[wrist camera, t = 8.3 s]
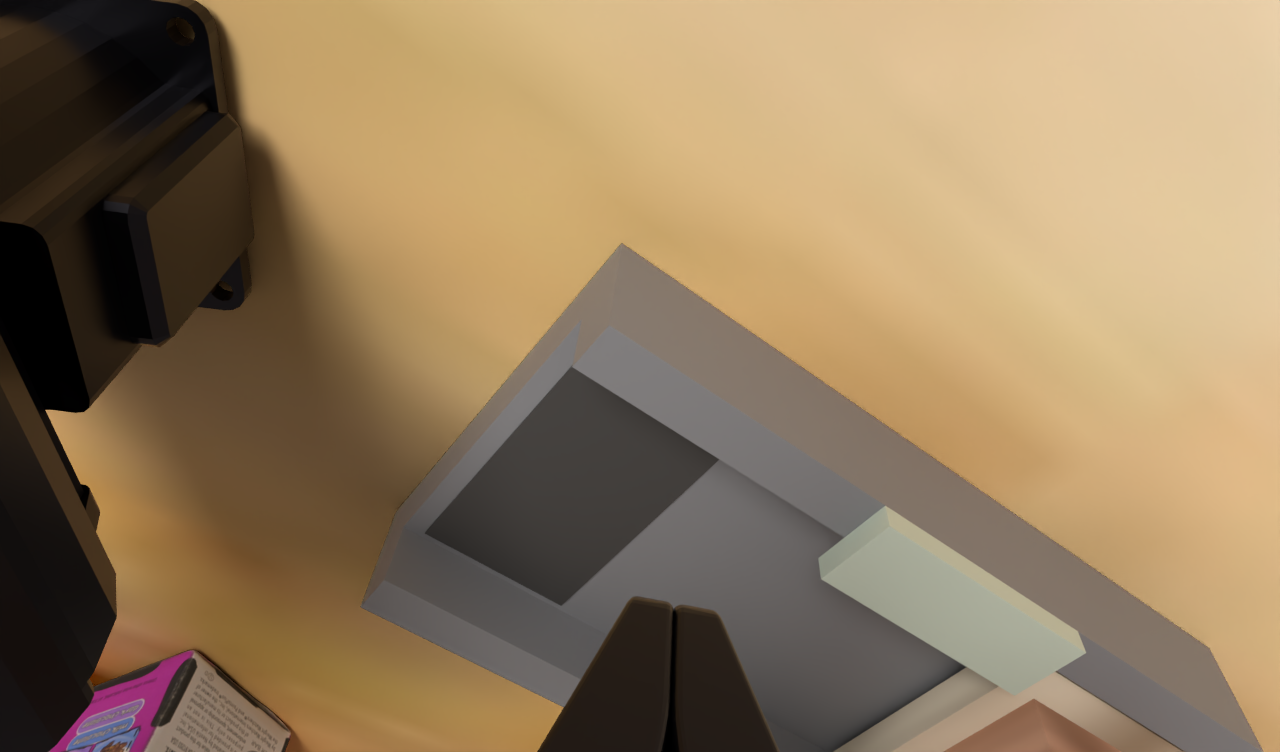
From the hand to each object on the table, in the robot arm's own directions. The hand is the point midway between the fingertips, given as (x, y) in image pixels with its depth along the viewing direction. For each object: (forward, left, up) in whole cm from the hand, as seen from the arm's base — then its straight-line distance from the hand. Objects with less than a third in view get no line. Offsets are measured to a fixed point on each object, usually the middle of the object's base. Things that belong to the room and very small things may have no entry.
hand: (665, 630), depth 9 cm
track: (+5, -12, -12) cm, 18 cm away
